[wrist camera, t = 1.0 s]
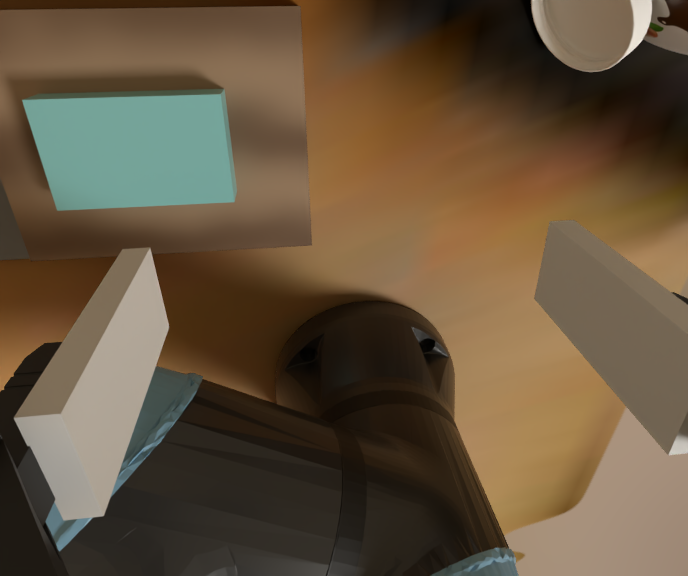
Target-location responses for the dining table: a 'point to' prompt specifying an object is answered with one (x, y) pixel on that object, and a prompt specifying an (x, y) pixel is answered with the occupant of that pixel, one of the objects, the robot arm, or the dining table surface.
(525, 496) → the dining table surface
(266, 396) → the dining table surface
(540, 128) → the dining table surface
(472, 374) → the dining table surface
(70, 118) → the card
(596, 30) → the spread jar
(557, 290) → the robot arm
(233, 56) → the brown flat block
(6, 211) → the mat
